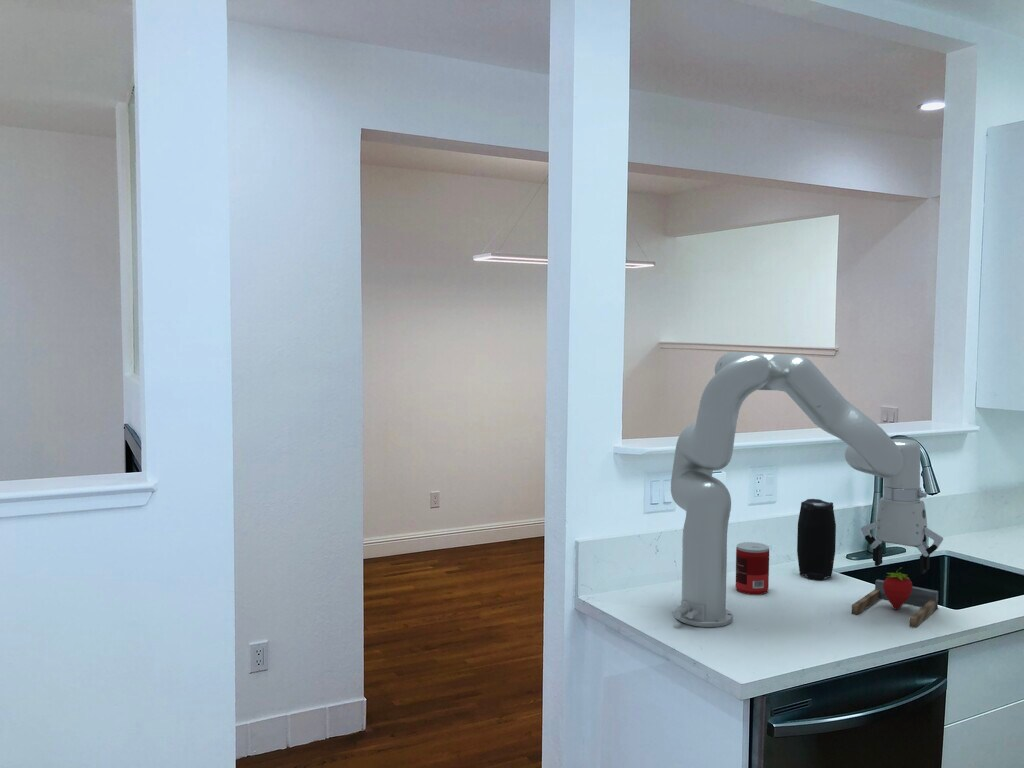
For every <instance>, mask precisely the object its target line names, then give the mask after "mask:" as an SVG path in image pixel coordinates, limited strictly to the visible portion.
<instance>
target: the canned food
mask: <svg viewBox="0 0 1024 768" xmlns="http://www.w3.org/2000/svg"><path fill="white" fill-rule="evenodd" d="M735 549H736V550H735V551H736V552H735V588H736V590H737V592H740V593H741V594H746V595H751V596H753V595H756V596H757V595H758V596H759V595H765V594H766V593H767V592H768V590H769V584H770V583H769V581H770V579H769V578H770V577H769V575H770V546H769V545H767V544H764V543H761V542H753V541H751V542H750V541H747V542H746V541H745V542H740V543H737V544H736V548H735Z"/></svg>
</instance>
